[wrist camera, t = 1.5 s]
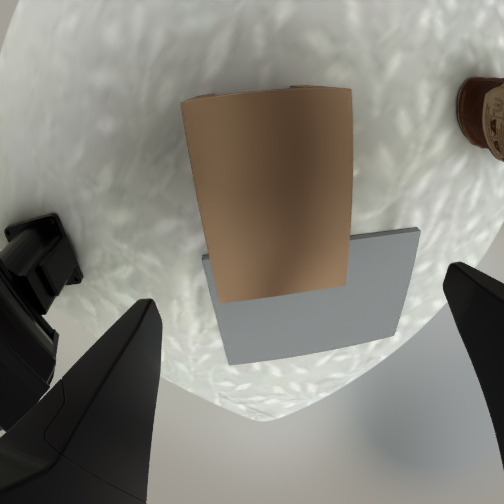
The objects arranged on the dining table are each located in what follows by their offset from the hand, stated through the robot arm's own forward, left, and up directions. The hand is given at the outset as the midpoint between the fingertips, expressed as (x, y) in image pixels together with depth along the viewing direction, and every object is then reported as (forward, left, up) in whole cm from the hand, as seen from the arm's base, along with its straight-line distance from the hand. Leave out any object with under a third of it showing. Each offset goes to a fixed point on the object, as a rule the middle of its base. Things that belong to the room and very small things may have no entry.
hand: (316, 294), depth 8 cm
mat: (+4, -13, -13) cm, 19 cm away
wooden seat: (0, 0, -13) cm, 13 cm away
